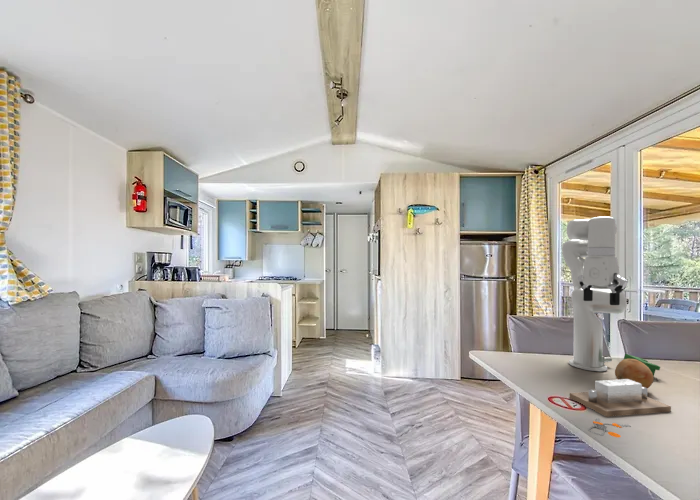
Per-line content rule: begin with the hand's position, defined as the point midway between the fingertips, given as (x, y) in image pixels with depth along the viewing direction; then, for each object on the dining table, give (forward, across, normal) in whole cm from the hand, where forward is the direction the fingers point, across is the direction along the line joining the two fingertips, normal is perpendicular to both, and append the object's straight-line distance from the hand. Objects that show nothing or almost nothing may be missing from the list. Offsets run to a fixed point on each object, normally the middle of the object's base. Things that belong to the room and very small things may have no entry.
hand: (600, 302), depth 112 cm
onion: (+28, +4, +9) cm, 30 cm away
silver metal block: (+27, +13, -8) cm, 31 cm away
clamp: (+29, -8, +28) cm, 41 cm away
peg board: (+28, +13, -8) cm, 32 cm away
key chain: (+29, +24, -24) cm, 45 cm away
